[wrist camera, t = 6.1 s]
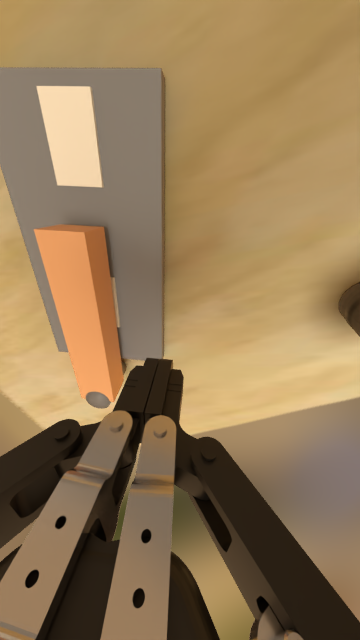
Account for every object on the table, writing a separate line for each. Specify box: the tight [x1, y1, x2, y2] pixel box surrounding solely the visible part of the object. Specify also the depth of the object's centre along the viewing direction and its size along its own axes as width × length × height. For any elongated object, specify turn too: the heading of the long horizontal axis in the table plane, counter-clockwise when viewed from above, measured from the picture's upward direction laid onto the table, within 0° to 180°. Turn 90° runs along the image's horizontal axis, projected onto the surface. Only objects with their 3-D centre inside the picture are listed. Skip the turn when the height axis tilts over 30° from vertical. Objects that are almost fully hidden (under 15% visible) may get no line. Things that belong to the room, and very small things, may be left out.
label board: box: [0, 68, 165, 375], centre depth 23 cm, size 30×14×2 cm, turn 178°
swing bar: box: [34, 224, 124, 408], centre depth 23 cm, size 20×4×4 cm, turn 178°
